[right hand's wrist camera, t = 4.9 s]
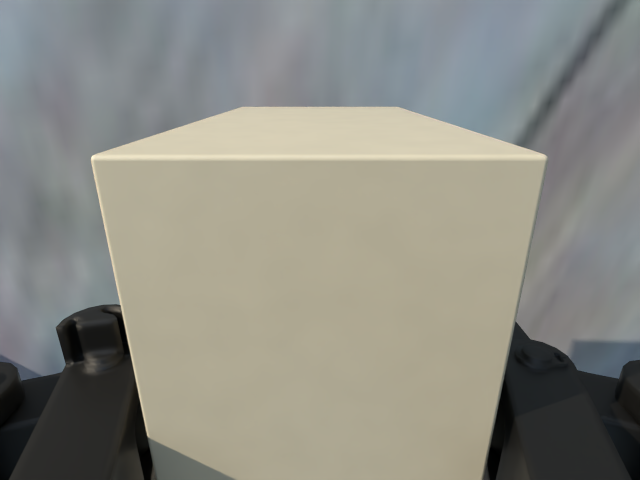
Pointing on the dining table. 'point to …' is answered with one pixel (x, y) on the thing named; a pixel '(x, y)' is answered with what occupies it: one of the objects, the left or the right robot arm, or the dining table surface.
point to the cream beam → (319, 290)
